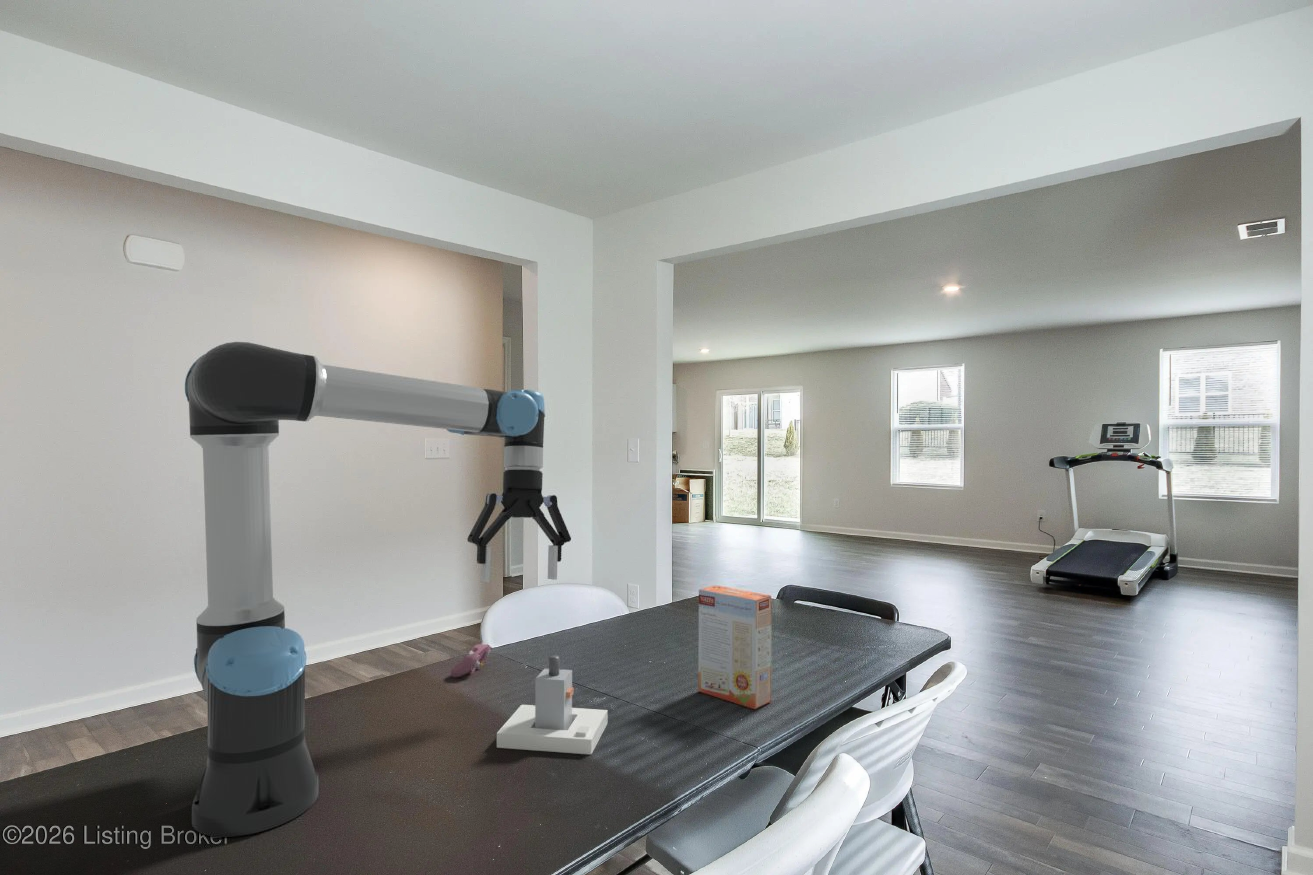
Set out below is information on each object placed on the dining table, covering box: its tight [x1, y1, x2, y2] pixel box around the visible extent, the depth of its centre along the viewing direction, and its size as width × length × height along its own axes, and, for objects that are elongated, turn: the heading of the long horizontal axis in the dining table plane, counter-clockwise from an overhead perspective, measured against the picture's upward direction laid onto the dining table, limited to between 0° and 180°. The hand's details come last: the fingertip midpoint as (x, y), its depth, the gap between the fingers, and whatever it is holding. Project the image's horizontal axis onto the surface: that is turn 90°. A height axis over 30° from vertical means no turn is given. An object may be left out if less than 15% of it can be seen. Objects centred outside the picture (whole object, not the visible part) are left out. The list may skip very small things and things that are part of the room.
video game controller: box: [450, 642, 493, 679], centre depth 149 cm, size 10×5×7 cm, turn 170°
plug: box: [534, 654, 575, 730], centre depth 117 cm, size 6×5×13 cm
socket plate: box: [496, 704, 609, 755], centre depth 117 cm, size 16×12×3 cm
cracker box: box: [697, 584, 772, 710], centre depth 135 cm, size 14×6×21 cm, turn 47°
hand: (519, 580), depth 131 cm, fingers open, 13 cm apart
